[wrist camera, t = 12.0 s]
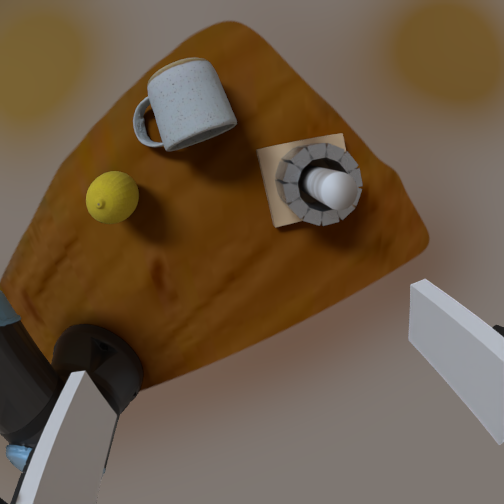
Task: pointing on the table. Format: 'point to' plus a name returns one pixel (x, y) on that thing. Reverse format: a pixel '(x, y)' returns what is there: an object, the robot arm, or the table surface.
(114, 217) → the lemon
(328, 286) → the table surface
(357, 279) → the table surface
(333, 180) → the shaft stand
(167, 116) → the ceramic mug
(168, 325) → the table surface
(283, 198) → the ring
